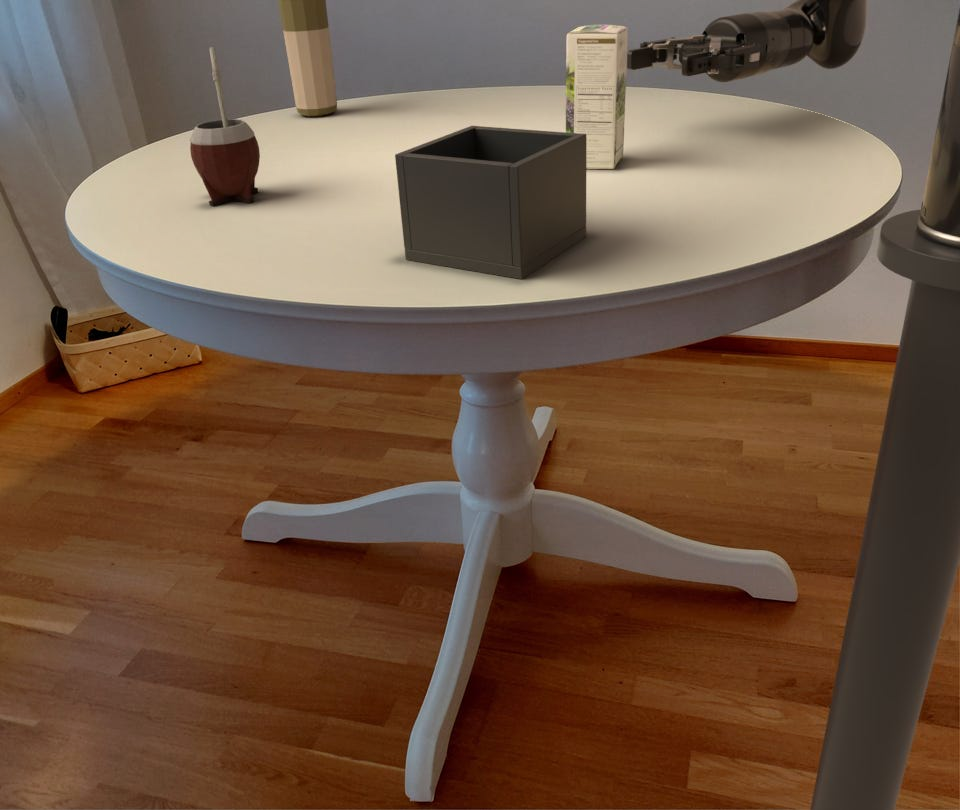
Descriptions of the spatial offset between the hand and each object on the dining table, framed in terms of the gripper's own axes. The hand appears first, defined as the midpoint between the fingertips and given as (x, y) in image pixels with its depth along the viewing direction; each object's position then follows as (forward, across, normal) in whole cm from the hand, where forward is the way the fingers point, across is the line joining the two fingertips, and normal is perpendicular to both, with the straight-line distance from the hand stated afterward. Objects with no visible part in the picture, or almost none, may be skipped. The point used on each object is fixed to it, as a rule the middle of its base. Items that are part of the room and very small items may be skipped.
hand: (656, 63), depth 102 cm
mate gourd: (+46, -20, +10) cm, 51 cm away
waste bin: (+36, +15, +10) cm, 40 cm away
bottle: (+15, -56, +10) cm, 59 cm away
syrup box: (+10, 0, +10) cm, 14 cm away
